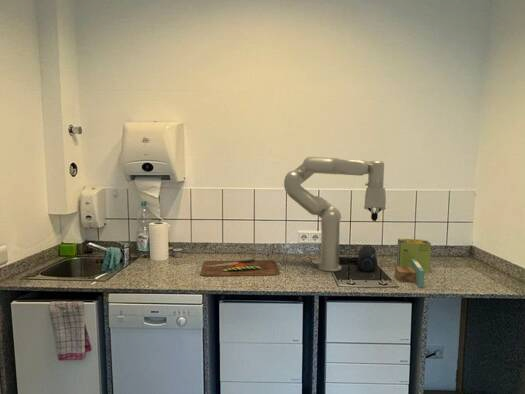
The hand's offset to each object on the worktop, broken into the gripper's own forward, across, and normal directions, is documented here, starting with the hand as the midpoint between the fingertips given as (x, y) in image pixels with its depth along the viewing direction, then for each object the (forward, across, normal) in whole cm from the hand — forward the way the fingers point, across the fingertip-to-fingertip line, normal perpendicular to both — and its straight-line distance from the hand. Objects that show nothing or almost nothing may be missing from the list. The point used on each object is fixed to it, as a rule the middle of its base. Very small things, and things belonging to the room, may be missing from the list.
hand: (374, 220), depth 204 cm
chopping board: (+28, -69, -8) cm, 75 cm away
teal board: (+27, +20, -11) cm, 35 cm away
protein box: (+27, +22, +10) cm, 37 cm away
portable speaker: (+28, -2, +10) cm, 29 cm away
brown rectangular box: (+27, +15, -9) cm, 32 cm away
